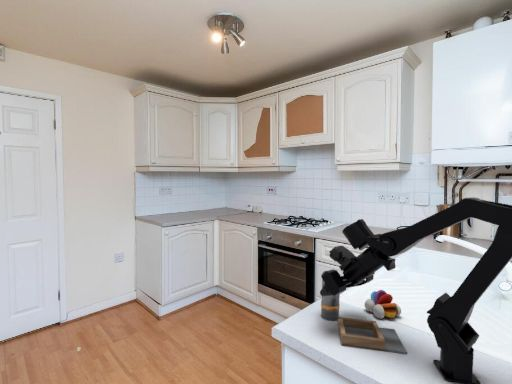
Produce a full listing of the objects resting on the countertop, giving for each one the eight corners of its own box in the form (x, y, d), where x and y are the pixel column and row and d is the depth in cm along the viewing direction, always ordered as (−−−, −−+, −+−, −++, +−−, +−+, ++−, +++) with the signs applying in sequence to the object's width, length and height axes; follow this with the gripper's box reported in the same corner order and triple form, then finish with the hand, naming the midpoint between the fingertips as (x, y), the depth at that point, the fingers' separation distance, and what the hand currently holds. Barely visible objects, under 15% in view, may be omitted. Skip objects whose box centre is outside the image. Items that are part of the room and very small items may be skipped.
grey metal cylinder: (339, 321, 82) (341, 276, 81) (320, 319, 83) (322, 275, 82) (338, 313, 87) (339, 271, 86) (320, 311, 88) (321, 269, 87)
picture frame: (407, 354, 67) (407, 343, 67) (341, 345, 70) (341, 335, 70) (394, 330, 77) (394, 321, 77) (337, 323, 80) (338, 315, 80)
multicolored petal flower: (381, 323, 82) (382, 298, 81) (360, 308, 91) (361, 286, 91) (405, 320, 84) (406, 296, 84) (382, 306, 93) (383, 284, 93)
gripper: (365, 235, 86) (333, 262, 95) (328, 242, 74) (295, 272, 83) (390, 267, 80) (353, 293, 89) (354, 280, 68) (316, 308, 77)
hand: (330, 290), depth 85 cm, fingers open, 9 cm apart
